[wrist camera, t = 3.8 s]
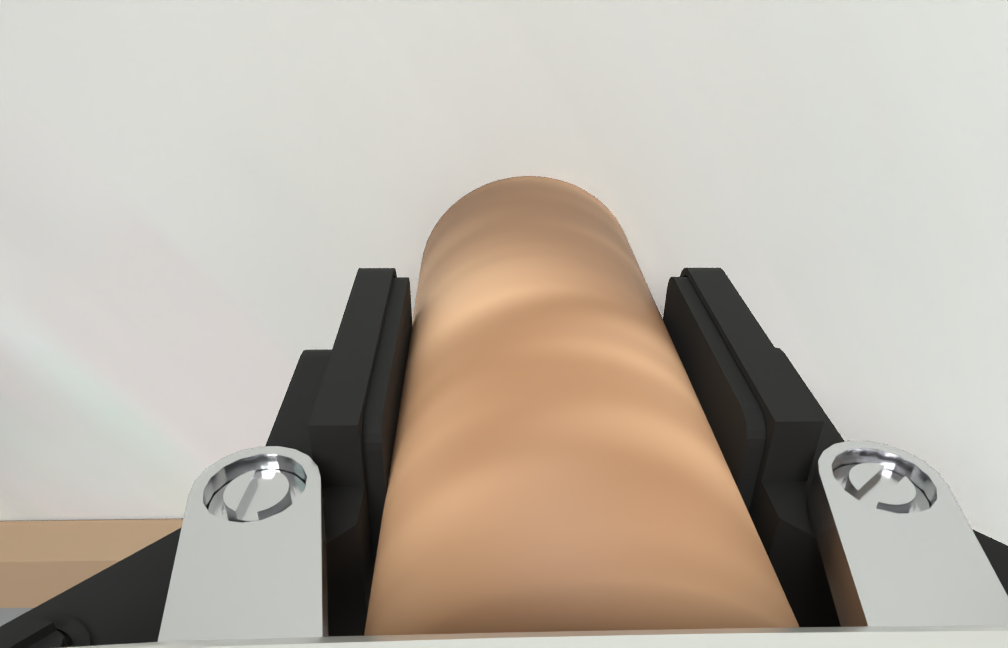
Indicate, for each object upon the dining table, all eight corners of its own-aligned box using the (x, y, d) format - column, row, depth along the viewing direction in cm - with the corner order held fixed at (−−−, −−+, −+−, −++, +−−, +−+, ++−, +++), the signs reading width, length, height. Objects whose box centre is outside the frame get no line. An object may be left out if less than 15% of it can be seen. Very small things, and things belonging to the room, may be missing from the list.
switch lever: (642, 176, 13) (883, 577, 5) (621, 366, 15) (777, 863, 7) (416, 175, 13) (324, 586, 5) (424, 367, 15) (367, 874, 7)
